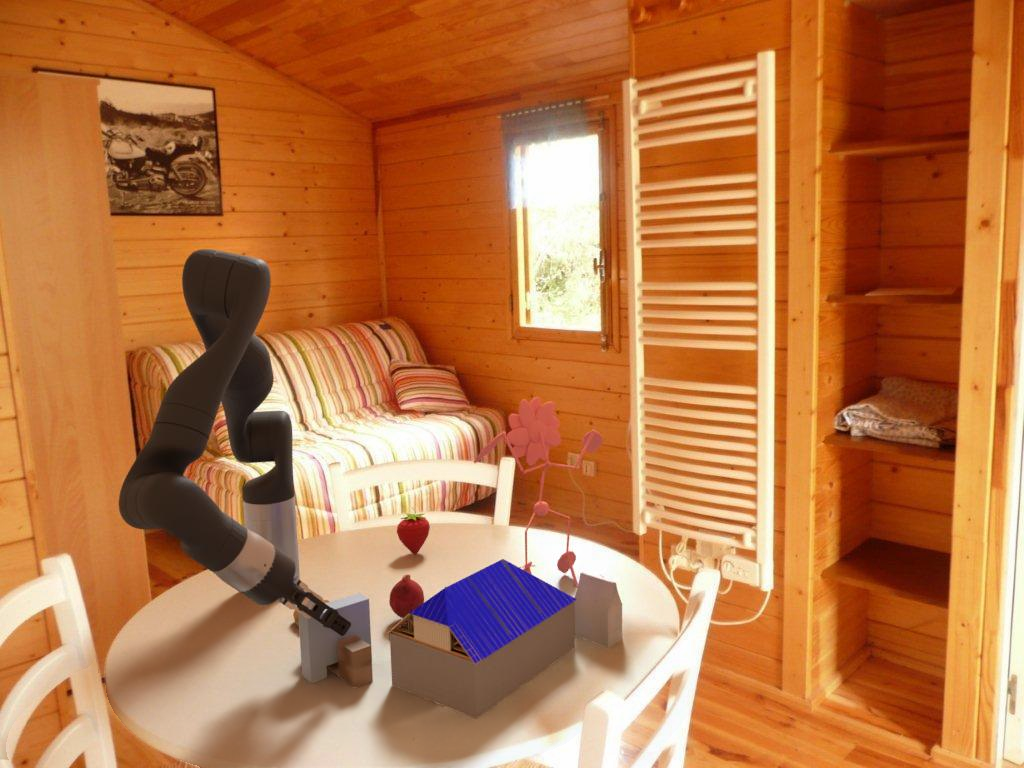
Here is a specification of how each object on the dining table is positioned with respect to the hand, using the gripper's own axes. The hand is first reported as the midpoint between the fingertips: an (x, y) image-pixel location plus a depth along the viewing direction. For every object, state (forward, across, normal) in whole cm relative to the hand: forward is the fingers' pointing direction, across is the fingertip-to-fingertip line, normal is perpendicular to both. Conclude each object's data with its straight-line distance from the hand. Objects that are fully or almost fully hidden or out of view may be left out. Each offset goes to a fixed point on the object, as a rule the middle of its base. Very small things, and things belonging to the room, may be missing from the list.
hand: (332, 620), depth 124 cm
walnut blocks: (+6, 0, +5) cm, 8 cm away
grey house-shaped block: (+31, -19, -20) cm, 42 cm away
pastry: (+10, +16, +2) cm, 19 cm away
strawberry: (+31, +33, -20) cm, 49 cm away
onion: (+18, +7, -7) cm, 20 cm away
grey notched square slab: (+6, 0, +5) cm, 8 cm away
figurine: (+37, +5, -26) cm, 46 cm away
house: (+18, -14, -7) cm, 24 cm away
